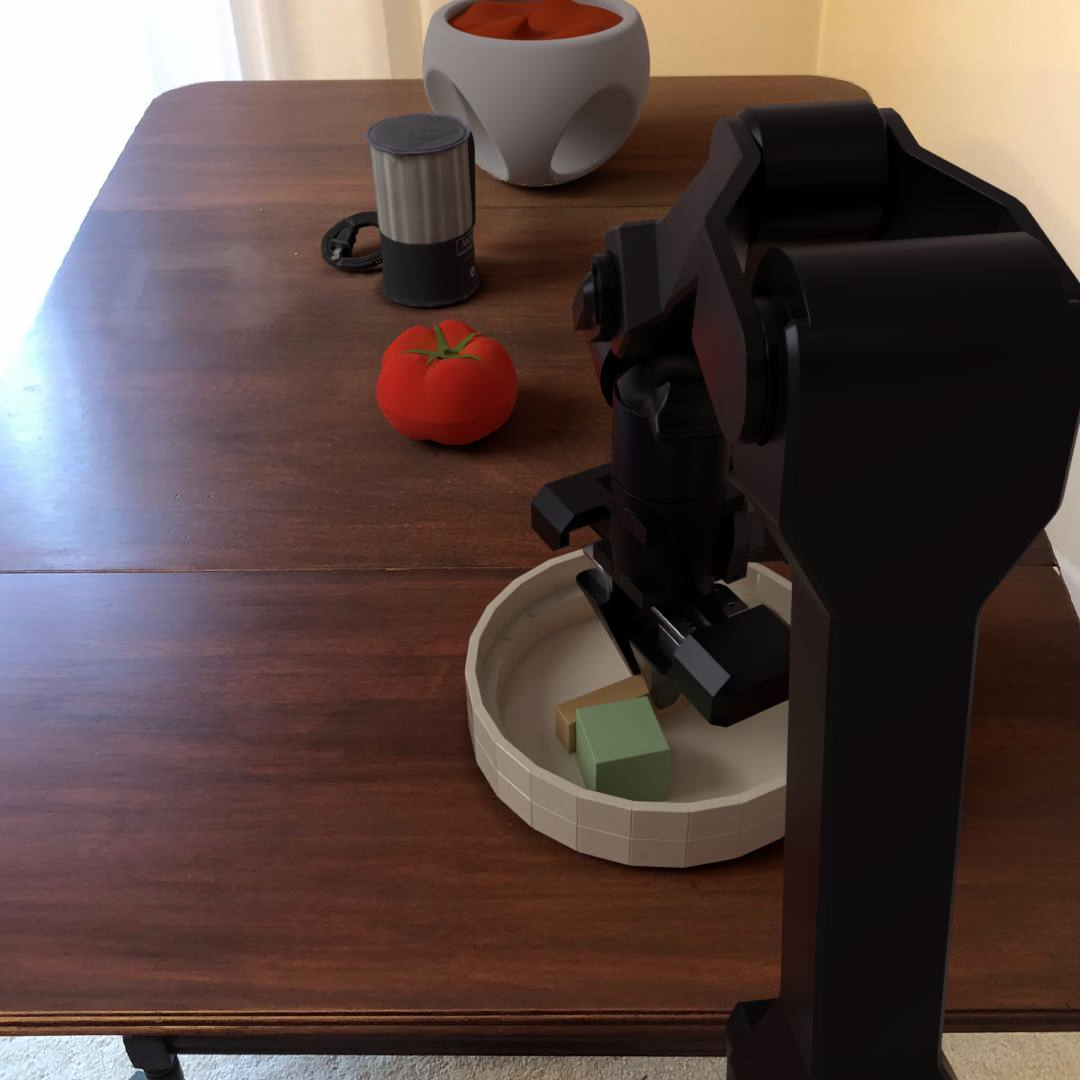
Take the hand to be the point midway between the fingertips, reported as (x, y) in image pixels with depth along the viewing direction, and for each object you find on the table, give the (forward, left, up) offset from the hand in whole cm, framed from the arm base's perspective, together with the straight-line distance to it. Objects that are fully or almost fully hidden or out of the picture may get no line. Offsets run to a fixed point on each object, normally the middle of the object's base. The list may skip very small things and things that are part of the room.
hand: (655, 695), depth 69 cm
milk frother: (+61, +8, -2) cm, 62 cm away
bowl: (0, 0, -2) cm, 2 cm away
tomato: (+34, +7, -2) cm, 35 cm away
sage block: (-4, +3, -2) cm, 6 cm away
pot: (+83, -10, -2) cm, 84 cm away
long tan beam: (0, 0, -1) cm, 1 cm away
